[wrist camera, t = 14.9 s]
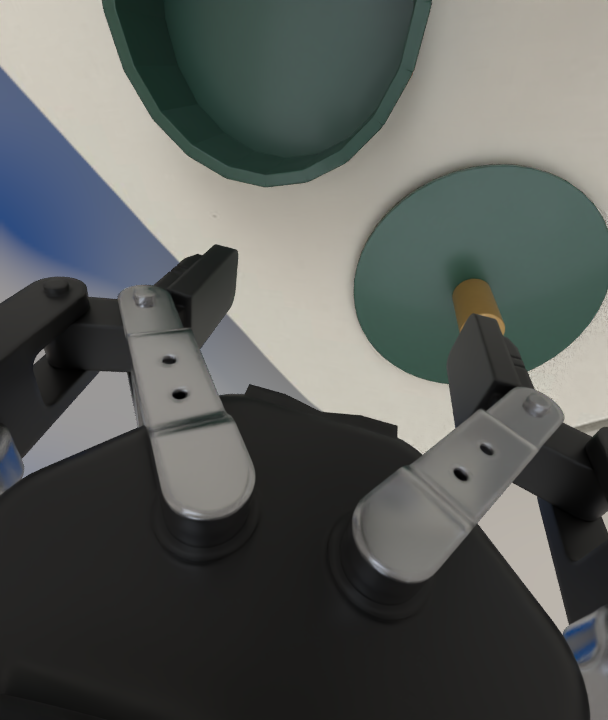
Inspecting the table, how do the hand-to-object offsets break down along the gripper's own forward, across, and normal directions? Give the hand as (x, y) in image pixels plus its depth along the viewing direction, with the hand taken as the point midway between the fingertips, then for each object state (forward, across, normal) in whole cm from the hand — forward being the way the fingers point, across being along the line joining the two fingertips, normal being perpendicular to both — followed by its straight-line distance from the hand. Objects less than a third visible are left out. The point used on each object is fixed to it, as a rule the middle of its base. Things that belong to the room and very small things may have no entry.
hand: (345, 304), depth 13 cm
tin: (+16, +8, -8) cm, 20 cm away
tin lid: (+16, -9, +5) cm, 19 cm away
